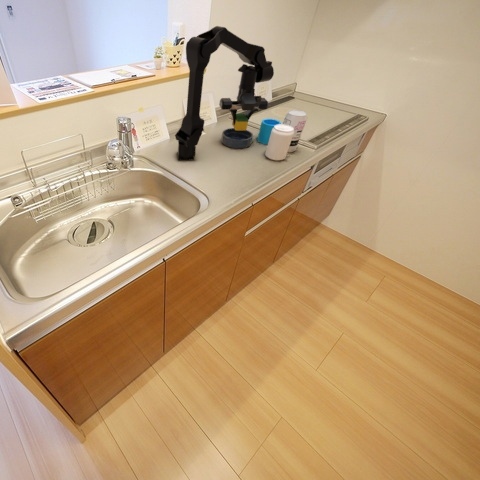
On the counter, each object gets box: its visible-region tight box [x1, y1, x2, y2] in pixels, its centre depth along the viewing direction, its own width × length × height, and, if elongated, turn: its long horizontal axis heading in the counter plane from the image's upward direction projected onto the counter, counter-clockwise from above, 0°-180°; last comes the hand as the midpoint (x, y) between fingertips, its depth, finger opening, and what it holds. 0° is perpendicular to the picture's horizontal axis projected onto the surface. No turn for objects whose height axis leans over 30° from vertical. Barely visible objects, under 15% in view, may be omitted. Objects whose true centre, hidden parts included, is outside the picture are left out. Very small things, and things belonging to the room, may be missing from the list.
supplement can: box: [282, 109, 308, 154], centre depth 113 cm, size 8×8×15 cm
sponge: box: [231, 113, 249, 131], centre depth 116 cm, size 7×4×4 cm, turn 2°
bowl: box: [220, 127, 254, 150], centre depth 121 cm, size 13×13×4 cm
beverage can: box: [264, 123, 294, 161], centre depth 109 cm, size 8×8×12 cm
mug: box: [256, 118, 282, 145], centre depth 122 cm, size 12×8×8 cm
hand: (239, 124), depth 117 cm, fingers closed on sponge, 4 cm apart
